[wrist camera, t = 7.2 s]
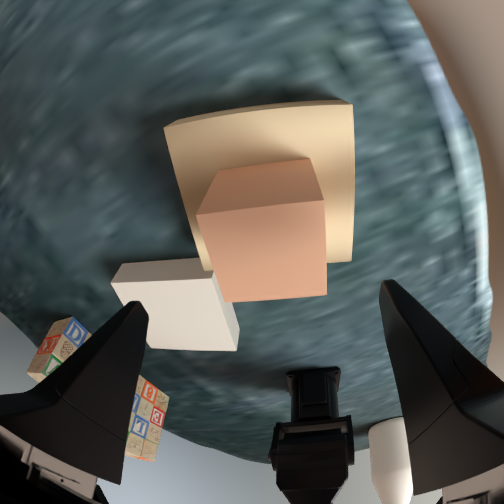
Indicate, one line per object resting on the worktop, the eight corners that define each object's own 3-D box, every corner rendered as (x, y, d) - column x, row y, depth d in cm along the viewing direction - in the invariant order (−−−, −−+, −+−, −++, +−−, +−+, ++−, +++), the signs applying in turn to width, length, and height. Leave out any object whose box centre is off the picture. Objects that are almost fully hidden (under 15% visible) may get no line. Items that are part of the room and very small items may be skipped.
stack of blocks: (53, 320, 32) (16, 390, 22) (73, 314, 30) (31, 394, 20) (145, 397, 43) (128, 457, 33) (171, 397, 41) (155, 463, 31)
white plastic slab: (240, 326, 27) (236, 350, 25) (159, 325, 29) (151, 347, 26) (218, 253, 22) (211, 278, 20) (124, 260, 24) (110, 282, 21)
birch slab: (343, 236, 20) (351, 261, 18) (212, 245, 22) (204, 270, 20) (340, 98, 15) (352, 104, 12) (180, 118, 16) (163, 128, 14)
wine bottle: (363, 433, 48) (365, 552, 24) (375, 419, 42) (380, 557, 18) (401, 427, 47) (409, 541, 23) (418, 412, 41) (430, 542, 17)
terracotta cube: (316, 236, 17) (326, 294, 13) (236, 244, 18) (224, 302, 14) (310, 158, 14) (324, 200, 10) (218, 170, 15) (195, 215, 11)
